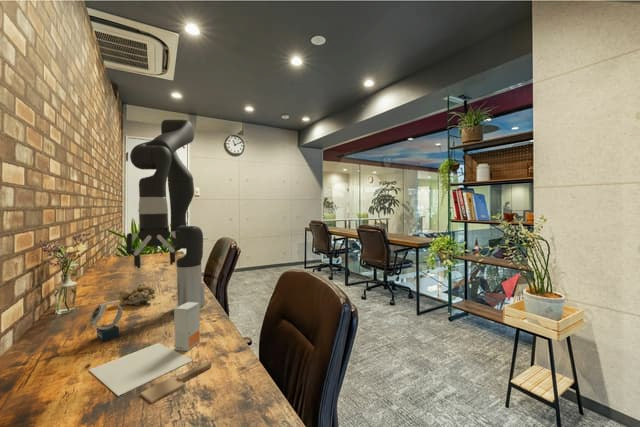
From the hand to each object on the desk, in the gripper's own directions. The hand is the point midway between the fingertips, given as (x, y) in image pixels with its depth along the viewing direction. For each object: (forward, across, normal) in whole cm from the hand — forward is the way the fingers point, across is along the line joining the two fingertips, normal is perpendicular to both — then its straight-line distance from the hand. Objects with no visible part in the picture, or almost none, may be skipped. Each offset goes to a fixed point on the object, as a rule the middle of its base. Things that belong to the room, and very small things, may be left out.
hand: (155, 266), depth 87 cm
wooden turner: (+23, -5, +26) cm, 35 cm away
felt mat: (+23, +3, +14) cm, 27 cm away
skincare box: (+23, -8, +8) cm, 26 cm away
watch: (+23, +14, -11) cm, 29 cm away
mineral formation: (+23, +8, -46) cm, 52 cm away
